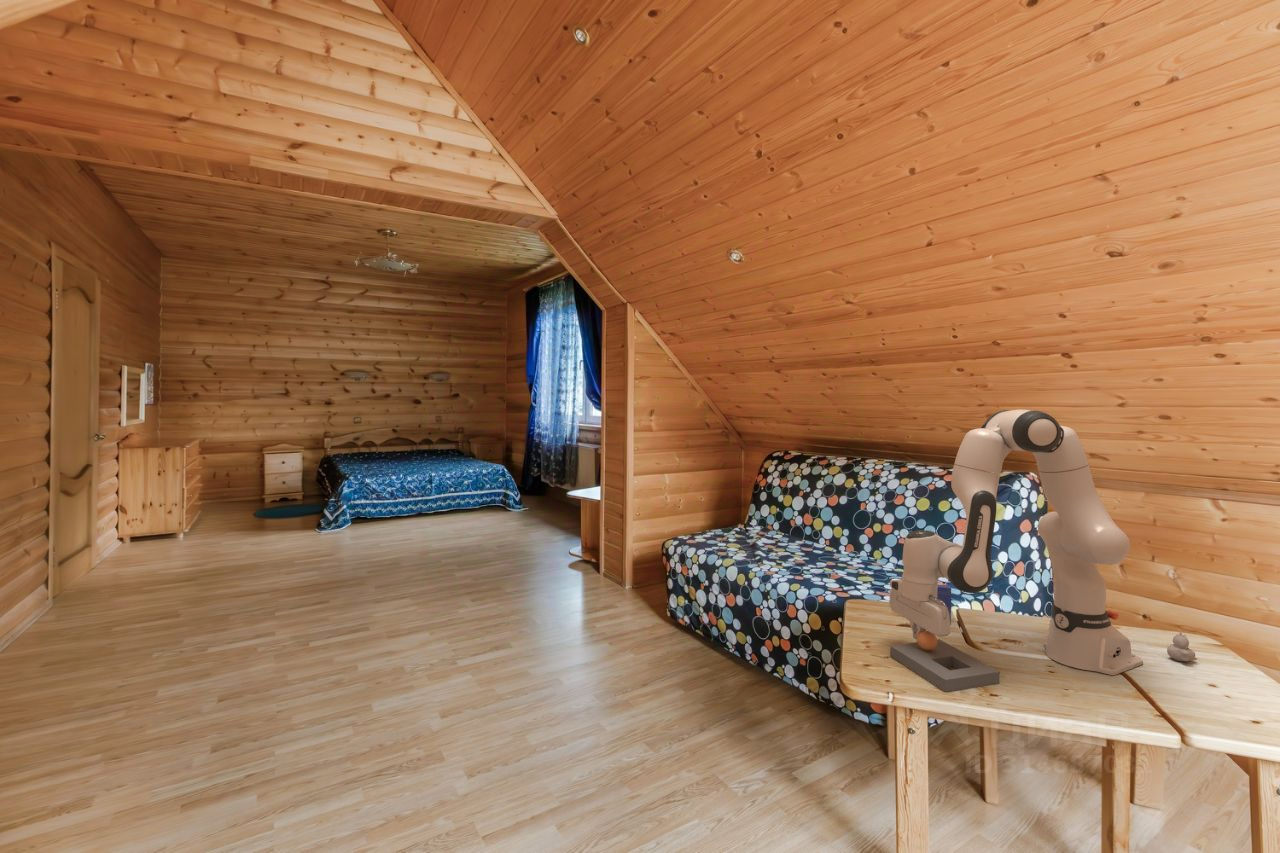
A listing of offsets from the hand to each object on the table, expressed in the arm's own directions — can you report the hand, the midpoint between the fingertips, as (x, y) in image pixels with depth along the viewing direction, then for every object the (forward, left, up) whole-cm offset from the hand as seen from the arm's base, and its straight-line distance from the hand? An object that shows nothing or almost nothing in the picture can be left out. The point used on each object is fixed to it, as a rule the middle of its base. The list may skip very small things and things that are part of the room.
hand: (917, 639), depth 158 cm
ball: (0, +3, +1) cm, 4 cm away
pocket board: (0, +9, -5) cm, 10 cm away
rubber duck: (-64, +22, -5) cm, 68 cm away
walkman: (-22, -18, -5) cm, 29 cm away
